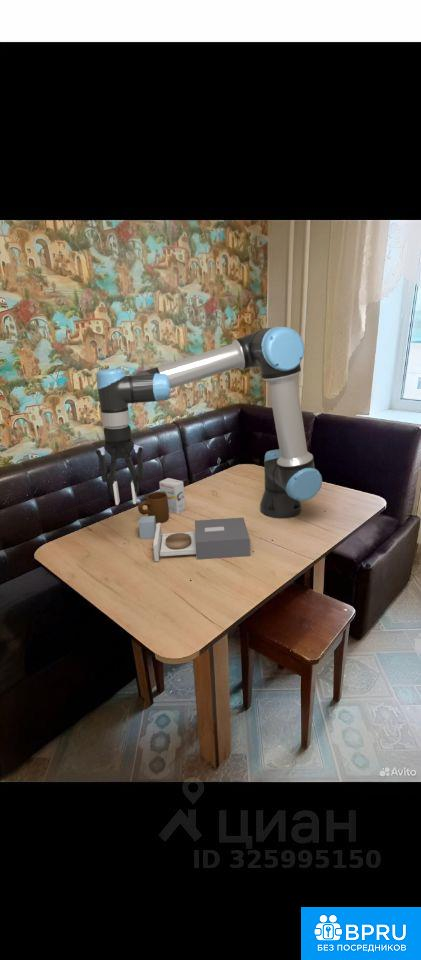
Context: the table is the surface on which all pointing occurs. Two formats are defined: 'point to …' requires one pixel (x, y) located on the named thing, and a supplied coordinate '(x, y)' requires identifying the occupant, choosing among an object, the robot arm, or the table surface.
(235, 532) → the housing
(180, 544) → the coaster
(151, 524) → the block
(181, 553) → the tray
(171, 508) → the ink box
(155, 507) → the mug
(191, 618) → the table surface
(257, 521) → the table surface
